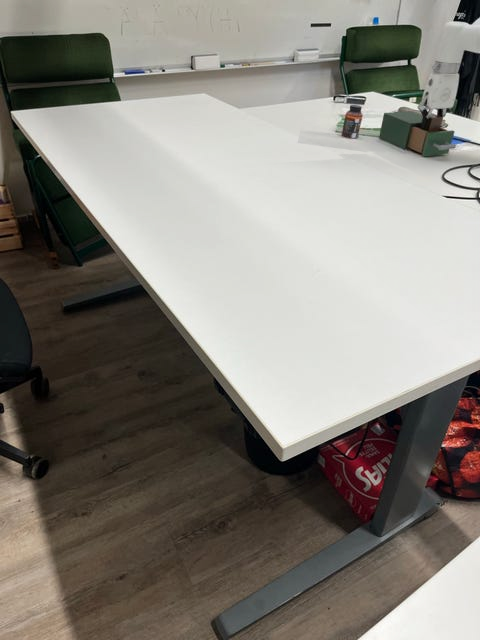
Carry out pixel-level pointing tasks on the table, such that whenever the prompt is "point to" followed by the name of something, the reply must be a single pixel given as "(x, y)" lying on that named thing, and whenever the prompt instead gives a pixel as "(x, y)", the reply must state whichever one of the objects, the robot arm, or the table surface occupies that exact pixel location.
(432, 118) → the block
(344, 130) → the supplement bottle
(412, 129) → the drawer
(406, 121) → the cabinet
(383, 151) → the table surface
